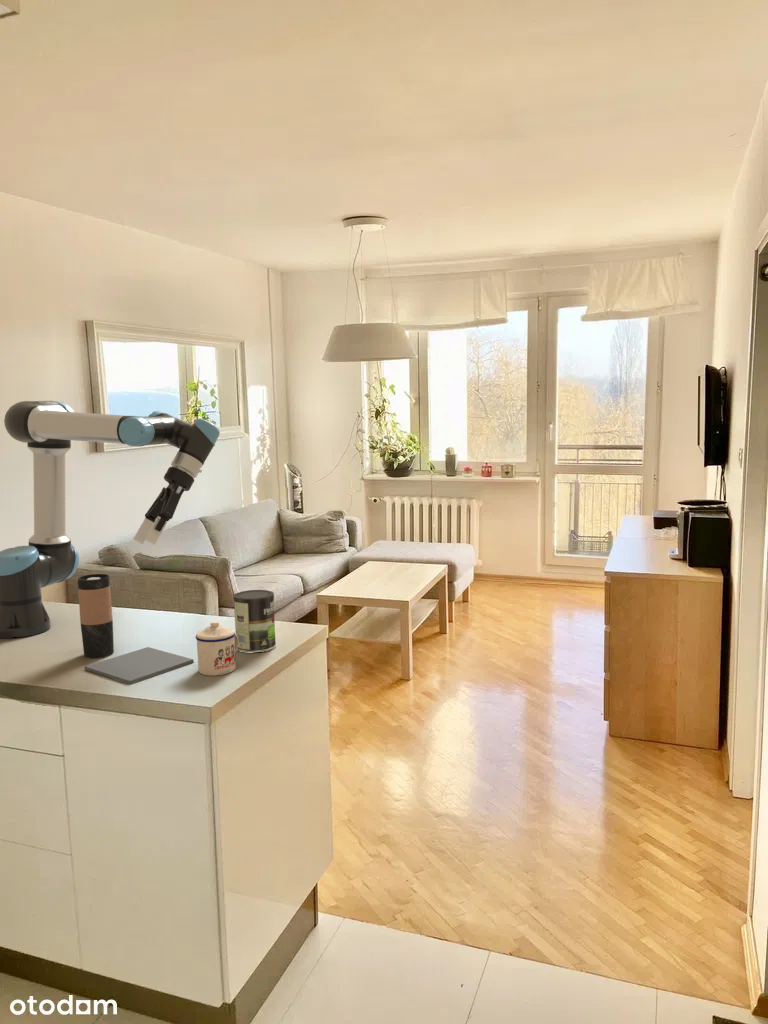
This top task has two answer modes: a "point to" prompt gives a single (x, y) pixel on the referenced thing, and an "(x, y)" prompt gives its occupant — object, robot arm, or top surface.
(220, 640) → the teacup with lid
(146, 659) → the pad
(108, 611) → the travel mug
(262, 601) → the coffee can
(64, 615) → the top surface
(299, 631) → the top surface
